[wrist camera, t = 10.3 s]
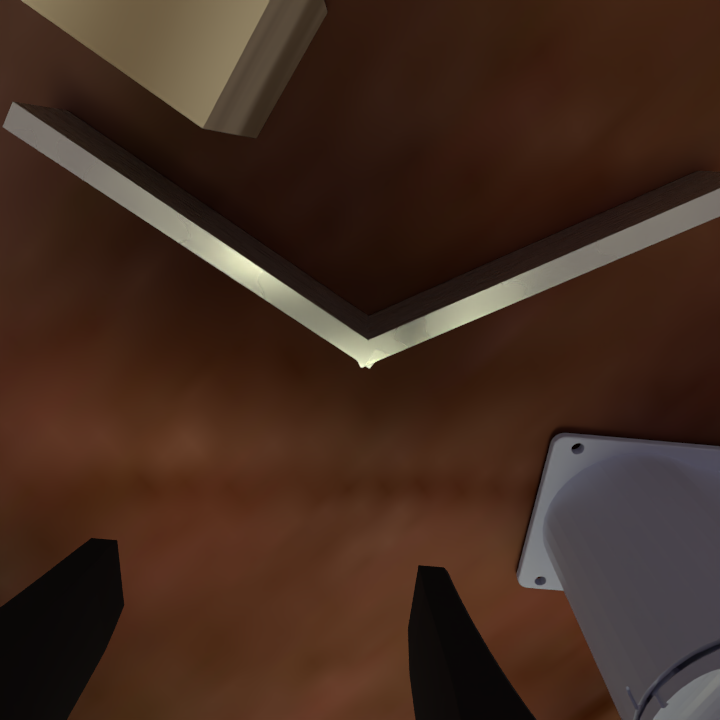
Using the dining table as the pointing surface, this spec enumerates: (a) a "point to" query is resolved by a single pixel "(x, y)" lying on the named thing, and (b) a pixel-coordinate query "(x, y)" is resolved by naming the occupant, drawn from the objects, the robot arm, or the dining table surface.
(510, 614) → the dining table surface
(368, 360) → the rail track
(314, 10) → the maple block
